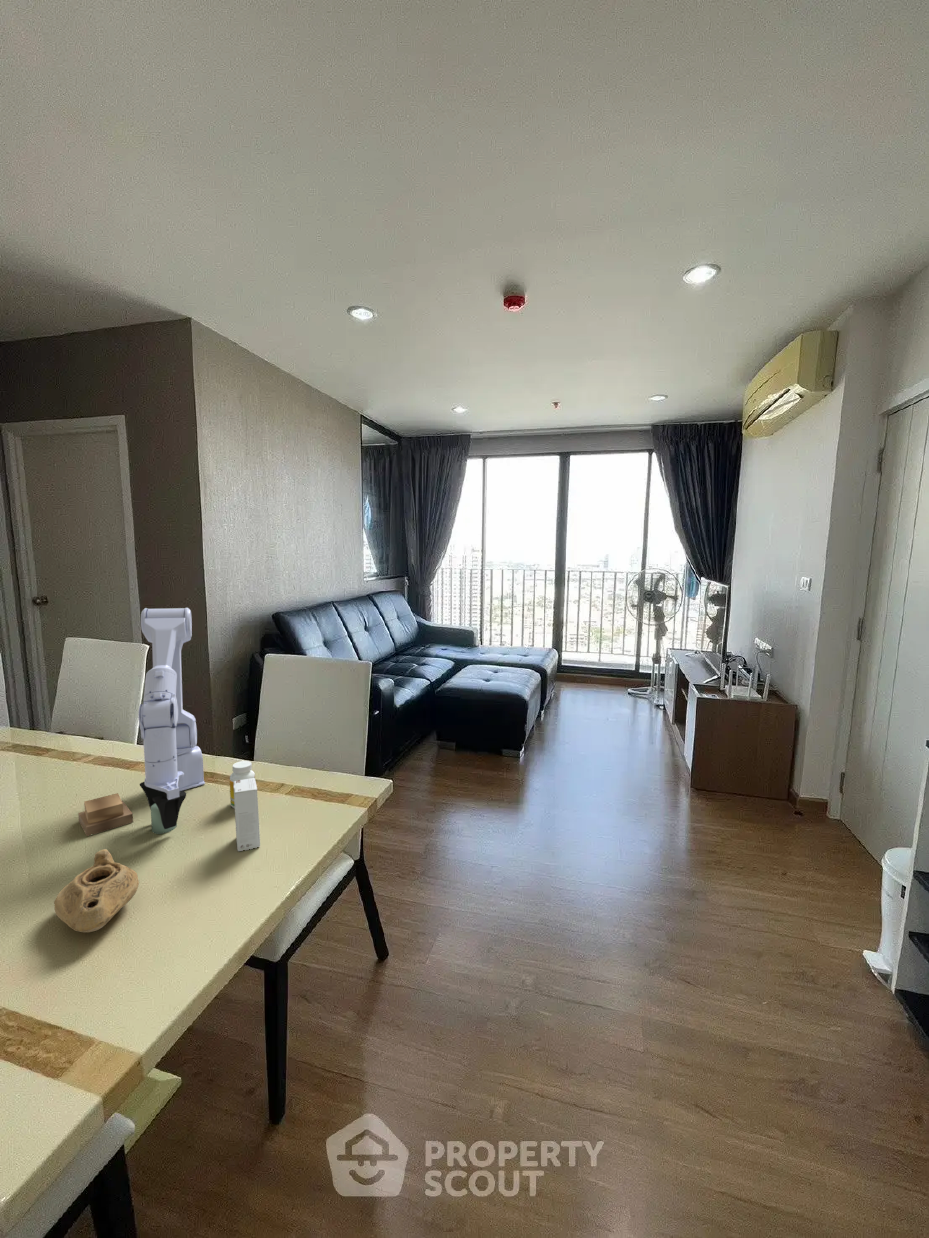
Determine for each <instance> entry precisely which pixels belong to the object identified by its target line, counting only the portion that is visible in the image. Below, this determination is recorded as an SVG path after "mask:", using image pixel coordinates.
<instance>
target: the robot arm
mask: <svg viewBox="0 0 929 1238" xmlns="http://www.w3.org/2000/svg"><path fill="white" fill-rule="evenodd" d="M140 613H141V614H140V629H141V633H142V634H143V635H144V637H145V639H146V640H147V642H148V643H151V646H152V668H151V669H149V670H148V671H147V672H146V673H145V682H144V692H143V703H140V704H139V707H138V711H137V712H138V713H137V714H138V716H137V717H138V724H139V729H140V737H141V739H142V740H143V755H144V758H143V759H144V776H145V778H144V781H142V782H140V783H139V787H140V788H141V789H142V791H143V792H144V794H145V797H146V799H147V803H148V806H149V809H150V811H151V806H152V805H153V804H156V805H157V807H158V809H159V812H160V816H161V821H162V824H163V827H164V829H168V828H171V827H174V826H176V824H178V823H177V822H178V819H179V814H180V809H181V807H182V804H183V802H184V801H185V799H186V797H187V793H186V792H185V790H188V789H192V788H196V787H199V786H203V785H204V784H205V785H206V782H205V780H204V777H205V775H204V759H203V753H202V749H201V748H200V747H199V746H198V745H197V743H198V729H197V727H198V726H197V723H196V722H197V720H196V717H195V715H193V714H192V713H190V712H189V711H186V710H184V709H183V705H184V704H183V679H182V678H183V677H182V676H183V674H182V671H183V669H182V650H183V645H184V644H185V643H187V642H189V641H191V640H192V636H193V634H192V633H193V631H192V629H193V628H192V626H193V624H192V623H193V621H192V618H193V616H192V610H191V609H190V608H189V607H185V608H183V607H182V608H181V607H178V608H176V607H175V608H173V607H172V608H147V607H145V608H144V609H142V611H141V612H140Z"/></svg>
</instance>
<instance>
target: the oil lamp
mask: <svg viewBox="0 0 929 1238" xmlns="http://www.w3.org/2000/svg"><path fill="white" fill-rule="evenodd" d="M93 860H94V862H93V865H91V866H90V867H88V868H86V869H84V871H83V872H81V873H79V874H77V875H76V876H75V877H74V878H73V879H72V881H70V882H68V884H66V885H65V886H64V887H63V888H62V889H61V890H60V891H59V893H58V894H57V895H56V897H55V899H54V901H53V905H54V912H55V914H56V916H57V918H59V920H61V922H63V923H65V924H66V925H67V926H68V927H69V928H70V929H72V930H74V931H76V932H81V933H91V932H95V931H98V930H101V929H102V928H104V927H105V926H106V925H107V924H108V923H109V921H111V919H113V917H115V915H116V914H118V912H119V911H121V909H123V907H125V905H127V904H128V903H129V902H130V901H131V900H132V899H133V898H134V896H135V895H136V893H137V891H138V889H139V886H140V885H139V884H140V882H139V881H140V880H139V877H138V873H137V872H136V871H135V870H134V869H132V868H131V867H128V866H126V865H124V864H121V863H120V862H115V860H114V859H113V856H112V854H111V853H110V852H109V850H108V849H104V848H103V849H100V850H98V851H97V852H95V854H94V859H93Z"/></svg>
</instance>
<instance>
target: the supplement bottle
mask: <svg viewBox="0 0 929 1238" xmlns="http://www.w3.org/2000/svg"><path fill="white" fill-rule="evenodd" d="M252 768H253V765H252V762H251V761H249V760H242V761H241V760H240V761H237V762H235V763H233V764H232V773H231V774H230V775H229V796H230V798H229V799H230V806H231V807H232V808H233V809H235V805H234V784H233V782H234V781H238V780H243V779H249V778H255V779H256V773H255V772H254V771H253V769H252Z"/></svg>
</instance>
